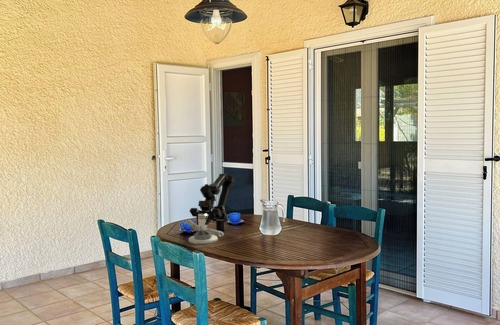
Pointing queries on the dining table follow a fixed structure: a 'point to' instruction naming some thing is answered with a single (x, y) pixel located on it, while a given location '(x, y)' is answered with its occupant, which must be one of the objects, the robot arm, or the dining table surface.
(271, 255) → the dining table surface
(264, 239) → the dining table surface
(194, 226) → the wrench
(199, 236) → the white and grey disc
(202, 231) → the piston
